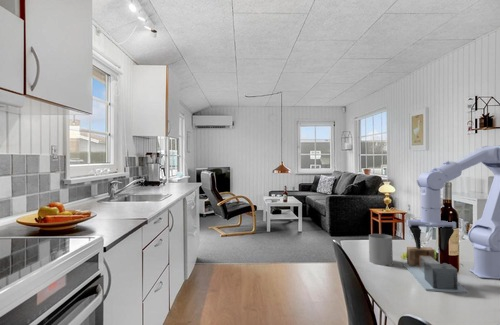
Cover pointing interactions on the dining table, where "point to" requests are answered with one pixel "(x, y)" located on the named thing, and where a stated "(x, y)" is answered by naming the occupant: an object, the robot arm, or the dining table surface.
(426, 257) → the bar
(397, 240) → the dining table surface
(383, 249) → the cup
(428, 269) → the sleeve
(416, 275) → the board
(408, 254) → the socket
